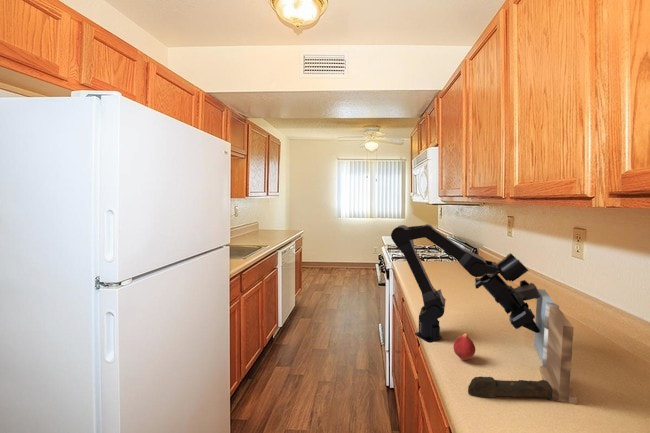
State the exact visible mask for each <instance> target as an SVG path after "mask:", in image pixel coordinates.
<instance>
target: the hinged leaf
mask: <svg viewBox="0 0 650 433" xmlns="http://www.w3.org/2000/svg"><path fill="white" fill-rule="evenodd" d="M537 290H538V292H539V294H540V298H537V299H536V308H535V321H534V322H535V323H536V325H537V326H538V328H539V330H540V332H539V333H536V332H534V339H533V340H534V343H533V344H534V347H535V350H536V351H537V353H538V357H539V359H540V360H541V363H542V362H543V346H544V347H545V348H547V345H548V329H547V328H545V309H546V303H553V304H556V303H555V301H554V300H553V298H552V297H551V296H550V294H549V293H548V292H547V291H546V289H544V288H543V289H542V288H537Z"/></svg>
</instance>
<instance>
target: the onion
mask: <svg viewBox="0 0 650 433" xmlns="http://www.w3.org/2000/svg"><path fill="white" fill-rule="evenodd" d="M453 352H454V353H455V355H456V356H457V357H458V358H460V359H461V360H462V361H467V360H469V359H471V358H473V357H474V355H475V354H476V346H475V344H474V341H473V340H472V339H471V338H470V337H468V333H463V334H462V335H460V336H458V337H457V338H456V339H455V341H454V342H453Z"/></svg>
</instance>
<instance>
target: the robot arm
mask: <svg viewBox="0 0 650 433" xmlns="http://www.w3.org/2000/svg"><path fill="white" fill-rule="evenodd" d="M390 237H391V238H390V239H391V240H392V242H393V243H394V244H395V246H396V247H397V249H398V250H399V251H400V252H401V253H402V254H403V256H404V258H405V260H406V262H407V264H408V267H409V269H410V270H411V273H412V275H413V277H414V280H415V281H416V283H417V286H418V287H419V290H420V292H421V296H422V302H423V306H422V307H420V312H419V313H418V331H417V332H415V333H414V335H415V336H416V337H418V338H420V339H422V340H424V341H426V342H427V343H431V342H434V341H437V340H440V339H441V340H442V339H443V335H441V326H440V320H439V319H441V318H442V317H443V316H444V314H445V308H446V302H447V301H446V300H447V298H445V297H444V296H443V293H442V289H441V288H439V289H438V290H437V289H436V288H435V287H434V286H433V284H432V282H431V280H430V278H429V276H428V273H427V272H426V269H425V267H424V265H423V263H422V261H421V259H420V256H419V254H418V253H417V250H416V247H415V242H414V240H418V239H422V238H425V239H427V240H428V241H430V242H431V243H433V244H434V245H435V246H437V247H438V248H439V249H441V250H443V251H444V252H445V253H447V254H448V255H450V256H451V257H452V258H454V259H455V260H456V261H457V262H458V263H459V264H460V265H461V266H462V267H463V269H464V270H465V271H466V272H467V273H468V274H469V275H471V276H472V277H475V278H474V281H475V282H474V283H475V284H474V287H475V289H477V290H478V289H479V288H481V287H483V288H484V289H485V290H486V291H487V292H488V293H489V294H490V295H491V297H492V298H493V299H494V301H495V302H496V303H497V304H499V305H500V306H501V307H502V308H503V309H504V311H505V313H506V315H508V314H509V316H508V317H509V322H510V324H511V325H512V327H514V329H515V330H518V329H520V328H522V327H523V328H524V329H527V330H529V331H532V332H533V333H535V332H536V333H539V332H540V330H539V328H538V326H537V325H536V323H535V322H536V321H534V319H536V315H535V314H534V312H533V311H532V309H531V308H529V306H530V305H529V304H528V302H527V301H530V300H534V299H535V300H537V298H540V294H539V292H538V290H537V289H538V288H537V286H536V285H535V283H533V282H530V283H529V282H528V281H527V280H525V279H524V280H519V285H518V286H517V287H513V286H512V285H510V284H508V283H507V282H508V281H509V282H514V281H516V280H517V279H519V278H520V277H522V276H523V275H524V274H526V273H527V272H529V269H528V268H527V267H526V266H525V265H524V263H523V262H521V261H520V259H517V258H516V256H514V255H513V253H511V252H510V253H508V254H507V255H506V256H505V257H504V258H502V259H501V260H500V261H499V262H498V263H497V262H496V261H492V260H486V259H485V258H484V257H483V256H481V255H479V254H476V253H475V252H472V251H470V250H468V249H465V248H463V247H461V246H460V245H459V244H457V243H456V242H454V241H453V240H452V239H450V238H449V237H447V236H446V235H444V234H443V233H441V232H440V231H439V230H437V229H435V228H434V226H433V225H431V224H423V225H414V226H407V225H404V224H402V225H401V224H400V225H398V226H396V227H395V228H394V229H393V230H392V231H391V234H390ZM499 274H500V275H499ZM504 280H505V281H504Z"/></svg>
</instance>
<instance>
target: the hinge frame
mask: <svg viewBox="0 0 650 433" xmlns="http://www.w3.org/2000/svg"><path fill="white" fill-rule="evenodd" d="M545 328H547V329H548V345H547V348H545V347H544V346H543V362H542V361H541V363H542V364H541V365H542V366H539V373H540V375H541V380H546V381H548V383H549V384H550V385H551V387H552V391H553V394H552V399H551V400H553V401H556V402H557V401H558V402H561V403H567V404H572V405H576V406H577V403H578V398H577V396H576V394H575V392H574V390H573V388H572V386H571V376H572V375H571V374H572V356H573V344H574V328H575V327H574V326H573V325H572V323H571V322H570V321H569V319H568V318H567V317H566V316H565V314H564V313H563V311H562V310H561V309H560V305H559V304H557V303H555V304H553V303H546V309H545Z"/></svg>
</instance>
